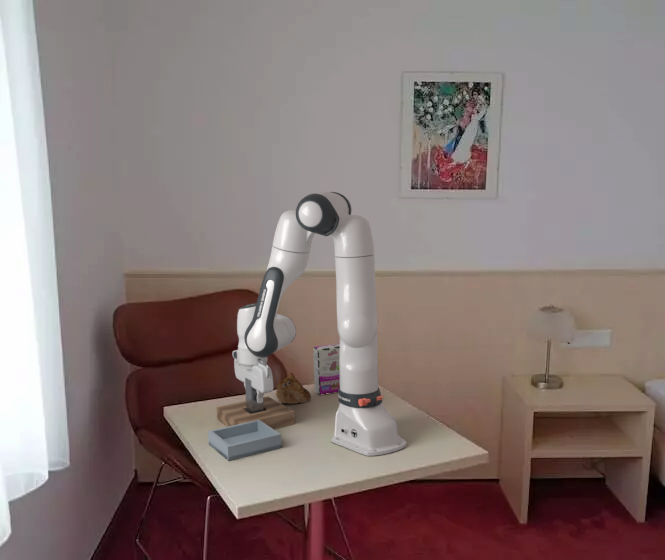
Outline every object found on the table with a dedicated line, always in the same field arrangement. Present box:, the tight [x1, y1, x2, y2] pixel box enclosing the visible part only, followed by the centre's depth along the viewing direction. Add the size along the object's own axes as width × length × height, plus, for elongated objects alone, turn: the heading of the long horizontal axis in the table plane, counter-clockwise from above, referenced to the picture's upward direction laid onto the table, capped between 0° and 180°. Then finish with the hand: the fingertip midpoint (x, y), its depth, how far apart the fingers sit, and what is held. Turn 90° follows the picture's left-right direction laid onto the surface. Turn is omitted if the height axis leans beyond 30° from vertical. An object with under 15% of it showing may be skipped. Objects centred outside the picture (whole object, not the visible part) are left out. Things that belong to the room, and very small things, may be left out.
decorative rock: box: [275, 372, 312, 405], centre depth 232 cm, size 12×6×11 cm, turn 118°
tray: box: [207, 420, 283, 462], centre depth 196 cm, size 14×16×4 cm
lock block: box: [216, 396, 296, 430], centre depth 216 cm, size 18×18×4 cm
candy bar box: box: [312, 342, 340, 396], centre depth 243 cm, size 11×5×16 cm, turn 114°
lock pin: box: [244, 378, 264, 414], centre depth 215 cm, size 4×4×14 cm
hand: (254, 399), depth 215 cm, fingers open, 5 cm apart
